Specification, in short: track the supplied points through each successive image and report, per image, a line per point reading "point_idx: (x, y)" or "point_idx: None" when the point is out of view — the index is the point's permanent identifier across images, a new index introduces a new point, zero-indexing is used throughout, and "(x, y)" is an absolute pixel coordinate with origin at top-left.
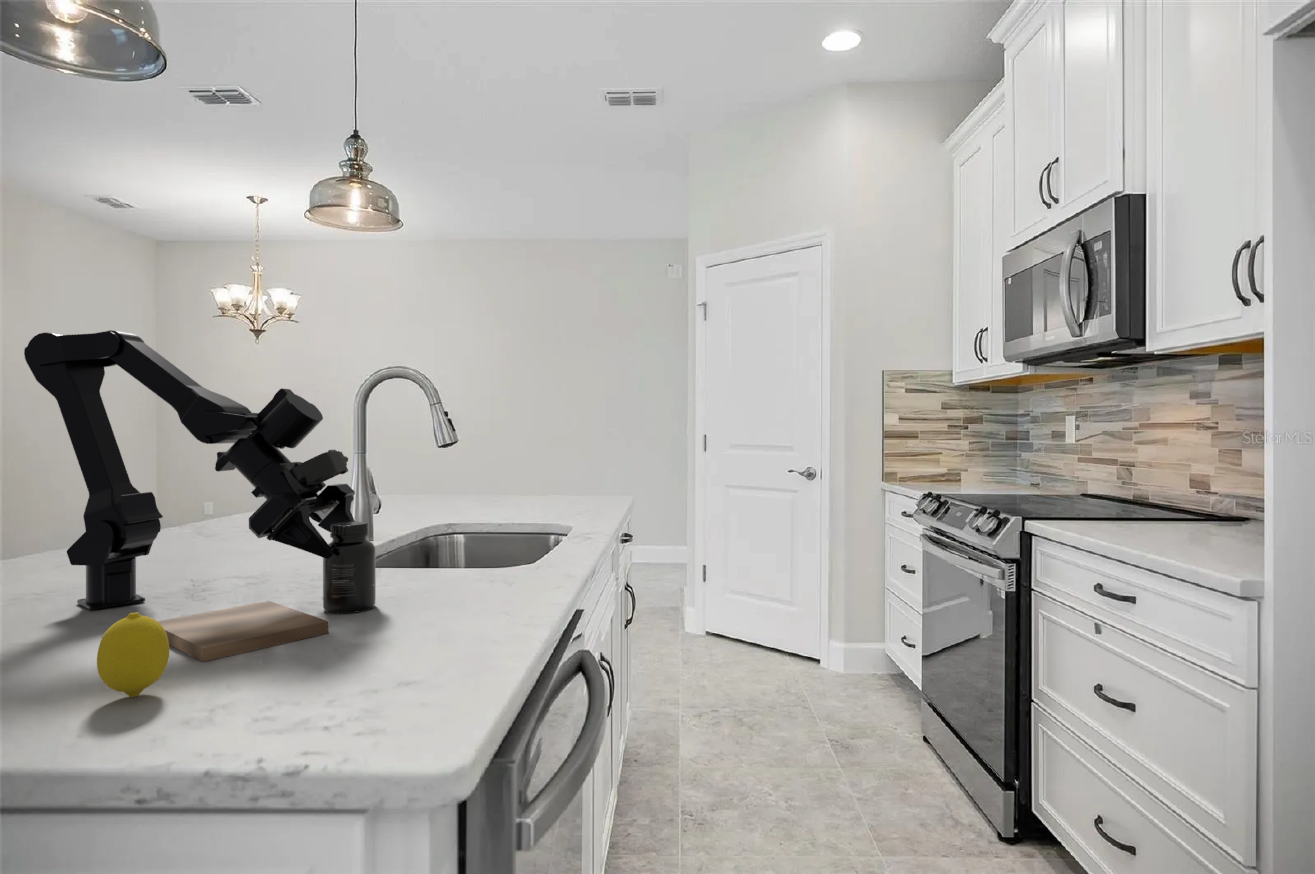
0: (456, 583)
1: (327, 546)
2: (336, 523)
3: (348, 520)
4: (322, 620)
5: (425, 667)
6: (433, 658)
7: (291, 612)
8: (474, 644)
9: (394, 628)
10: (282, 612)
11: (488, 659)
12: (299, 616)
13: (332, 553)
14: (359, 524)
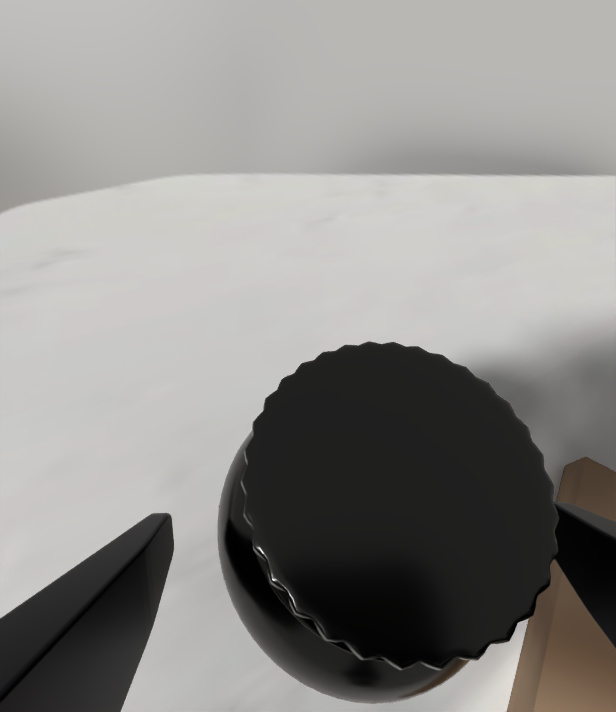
0: (16, 361)
1: (611, 523)
2: (432, 612)
3: (21, 696)
4: (590, 475)
5: (612, 249)
6: (577, 251)
7: (579, 646)
8: (496, 225)
9: (469, 349)
10: (596, 690)
11: (543, 203)
12: None
13: (560, 503)
14: (436, 357)
